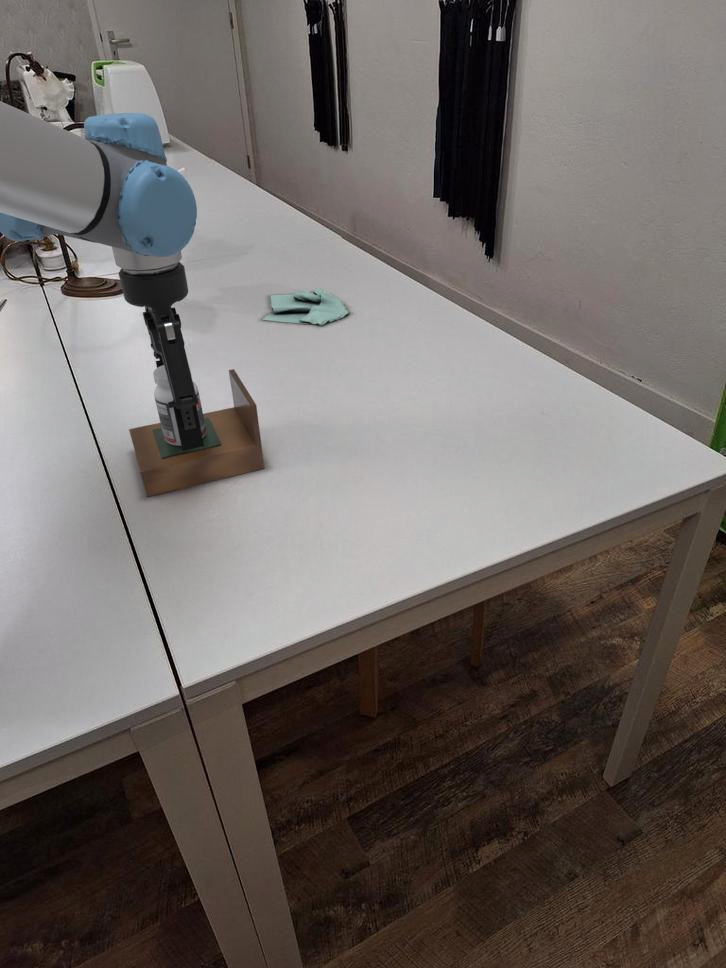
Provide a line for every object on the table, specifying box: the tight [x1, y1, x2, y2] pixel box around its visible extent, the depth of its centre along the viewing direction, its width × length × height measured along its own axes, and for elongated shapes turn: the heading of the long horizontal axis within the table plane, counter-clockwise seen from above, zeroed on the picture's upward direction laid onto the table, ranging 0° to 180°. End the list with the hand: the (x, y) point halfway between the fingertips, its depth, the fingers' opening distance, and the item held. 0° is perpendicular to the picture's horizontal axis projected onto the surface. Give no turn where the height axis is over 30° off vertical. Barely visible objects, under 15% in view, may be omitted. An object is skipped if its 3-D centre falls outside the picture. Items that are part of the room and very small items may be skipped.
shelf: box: [128, 368, 265, 498], centre depth 90 cm, size 16×12×10 cm
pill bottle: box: [152, 365, 206, 446], centre depth 87 cm, size 6×6×10 cm
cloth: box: [262, 287, 350, 327], centre depth 142 cm, size 20×22×2 cm
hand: (183, 423), depth 89 cm, fingers open, 13 cm apart
